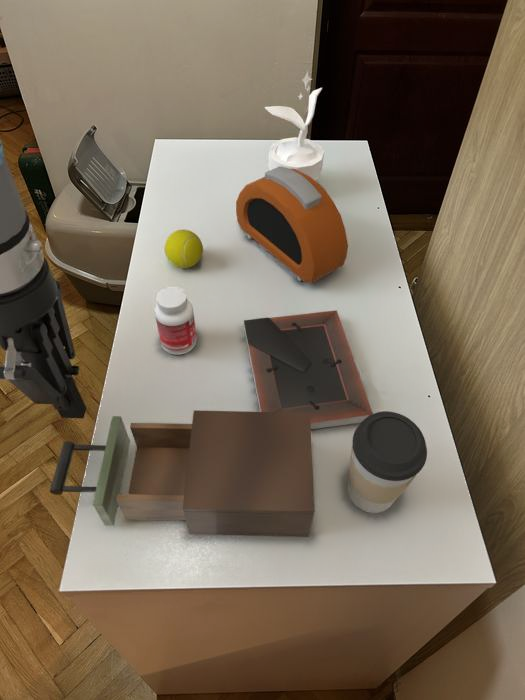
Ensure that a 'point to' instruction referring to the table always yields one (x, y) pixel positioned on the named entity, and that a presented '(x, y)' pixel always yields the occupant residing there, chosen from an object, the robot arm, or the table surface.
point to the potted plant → (297, 140)
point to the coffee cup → (384, 460)
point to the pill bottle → (175, 321)
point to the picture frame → (306, 368)
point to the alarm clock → (294, 222)
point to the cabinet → (249, 474)
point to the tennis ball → (183, 248)
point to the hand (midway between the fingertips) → (74, 412)
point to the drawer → (135, 471)
